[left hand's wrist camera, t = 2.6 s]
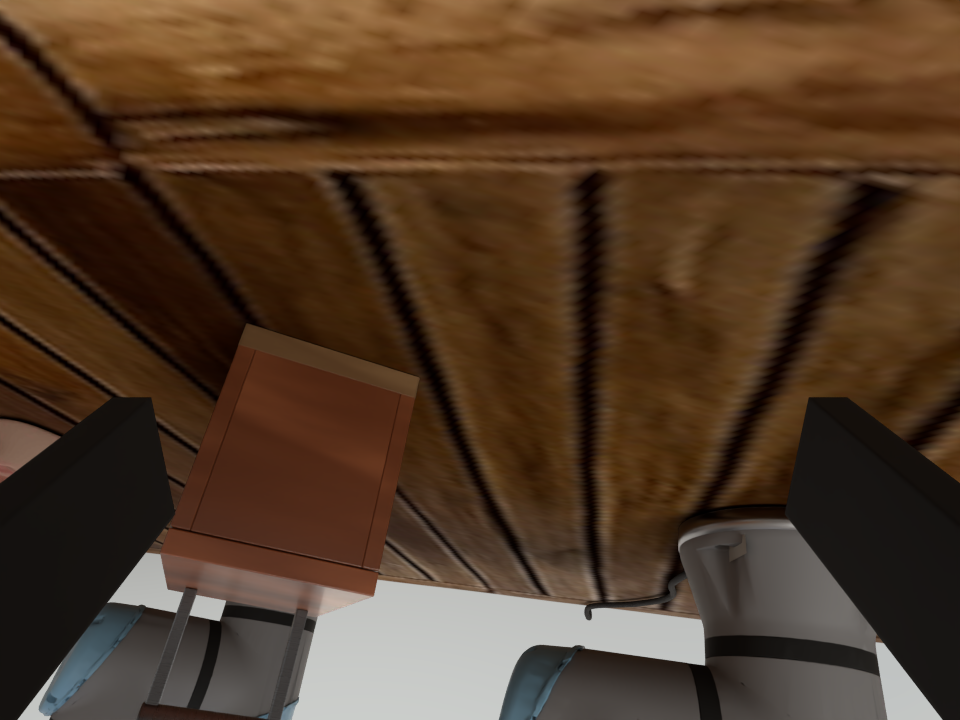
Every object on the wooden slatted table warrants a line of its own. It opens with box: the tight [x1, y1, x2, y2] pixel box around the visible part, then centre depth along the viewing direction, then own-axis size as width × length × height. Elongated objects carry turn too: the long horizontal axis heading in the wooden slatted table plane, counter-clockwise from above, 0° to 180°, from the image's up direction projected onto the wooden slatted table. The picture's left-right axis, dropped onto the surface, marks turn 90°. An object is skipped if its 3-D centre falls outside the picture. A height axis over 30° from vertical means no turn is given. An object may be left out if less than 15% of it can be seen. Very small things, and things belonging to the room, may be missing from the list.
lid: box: [136, 528, 378, 720], centre depth 33 cm, size 16×10×9 cm, turn 157°
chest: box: [171, 323, 420, 572], centre depth 38 cm, size 15×10×11 cm, turn 157°
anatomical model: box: [0, 419, 61, 483], centre depth 57 cm, size 13×4×12 cm
